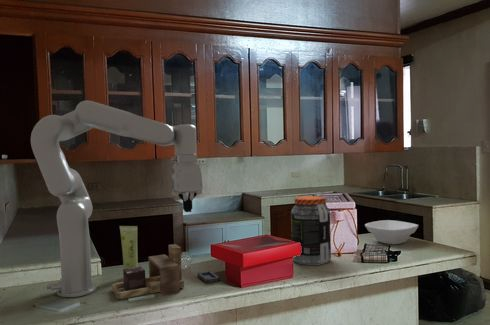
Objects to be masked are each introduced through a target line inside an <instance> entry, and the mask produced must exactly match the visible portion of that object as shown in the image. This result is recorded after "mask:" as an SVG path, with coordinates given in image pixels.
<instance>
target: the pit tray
mask: <svg viewBox="0 0 490 325" xmlns="http://www.w3.org/2000/svg"><path fill="white" fill-rule="evenodd" d="M197 278H199V279H200V280H202V281H203V282H204V283H206V284H209V283H215V282H221V281H220V280H221V278H220V276H218V275H217V274H215V273H214V272H212V271H211V270H208V271H202V272H198V273H197Z"/></svg>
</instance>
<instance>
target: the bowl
mask: <svg viewBox="0 0 490 325" xmlns="http://www.w3.org/2000/svg"><path fill="white" fill-rule="evenodd" d="M364 227H365V228H366V229H367V231H368V232H369V233H371V234H372V235H373V237H374V238H375V241H377V242H379V243H383V244H387V245H398V244H403V243H407V240H408V239H409V238H410V236H411V235H412V234H414V233H415V232H416V231H417V229H418V228H419V224H416V223H412V222H407V221H401V220H392V219H391V220H390V219H386V220H385V219H384V220H377V221H371V222H367V223H365V224H364Z"/></svg>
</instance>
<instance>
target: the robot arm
mask: <svg viewBox="0 0 490 325" xmlns="http://www.w3.org/2000/svg"><path fill="white" fill-rule="evenodd" d="M92 129H97V130H101V131H104V132H108V133H111V134H114V135H117V136H120V137H124V138H125V137H127V138H132V139H135V140H141V141H144V142H146V143H151V144H154V145H157V146H161V147H167V146H173V145H174V156H171V158H170V159H171V161H172V162H174V164H173V168H172V173H171V174H172V175H171V190H172V192H171V195H172V196H174V197H178V198H179V199H180V200H181V201H182V210H183V211H184V212H185V213H192V209H193V200H194V199H195V198H196V196H199V195H202V194H203V191H202V190H203V176H202V170H201V165H200V163H198V162H197V161H198V156H197V155H198V154H197V153H198V152H197V128H196V126H195V125H193V124H178V125H177V124H176V125H169V124H167V123H164V122H161V121H157V120H153V119H151V118H147V117H143V116H140V115H137V114H135V113H133V112H130V111H126V110H124V109H119V108H116V107H113V106H110V105H106V104H103V103H100V102H96V101H93V100H82V101H79V103H78V104H77V105H76V107H75V109H74V110H72V111H70V112H68V113H66V114H64V115H63V114H62V115H57V114H48V115H46V116H43V117H42V118H41V119H40V120H38V122H37V123H36V124H35V125H34V126H33V129H32V131H31V135H30V145H31V149H32V153H33V155H34V158H35V159H36V161H37V162H36V163H37V164H38V168H39V170H40V172H41V175H42V177H43V179H44V182H45V185H46V187H47V190H48V192H49V193H50V194H51V195H52V196H54V197H58V199H59V200H60V202H61V204H60V205H59V207H58V209H57V211H56V224H57V229H58V237H59V238H58V239H59V241H58V242H59V254H60V255H59V256H60V257H59V258H60V274H61V275H60V278H59V280H57V282H48V283H46V289H47V290H50V291H55V290H57V291H56V295H57V296H58V297H61V298H78V297H82V296H87V295H90V294H92V293H94V292H96V290H97V289H98V286H97V284H96V282H93V280H92V278H93V276H92V258H91V257H92V256H91V255H92V254H91V239H90V238H91V236H90V229H89V227H90V226H89V218H90V217H91V216H92V214H93V211H94V210H93V204H92V201H91V198H90V197H91V196H90V195H89V192H88V191H87V187H86V186H85V184H84V181H83V178H82V177H81V175H80V173H78V171H77V170H75V169H73V168H71V167H70V165H69V164H68V161H67V160H66V155H65V153H64V151H63V149H61V145H60V142H65V141H68V140H70V139H72V138H75V137H77V136H79V135H82V134H83V133H85V132H88V131H90V130H92Z"/></svg>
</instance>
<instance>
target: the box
mask: <svg viewBox="0 0 490 325" xmlns="http://www.w3.org/2000/svg"><path fill="white" fill-rule="evenodd" d="M122 270H123V272H122V273H123V282H124V288H123V291H129V290H135V289H140V288H146V280H145V278H146V270H145V269H144V268H143V267H142V266H140V265H138V267H133V268H127V269H124V268H123V269H122Z"/></svg>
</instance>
